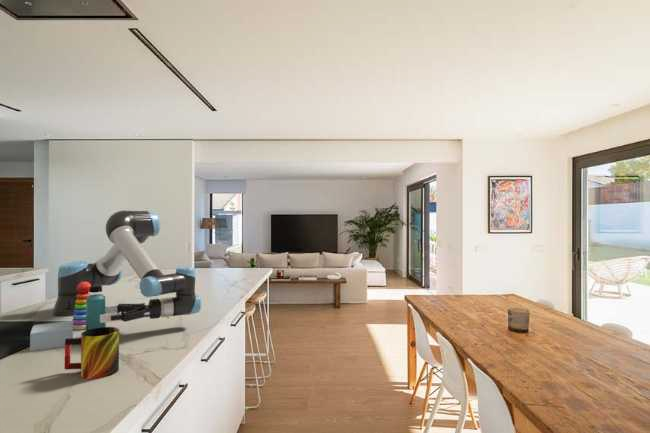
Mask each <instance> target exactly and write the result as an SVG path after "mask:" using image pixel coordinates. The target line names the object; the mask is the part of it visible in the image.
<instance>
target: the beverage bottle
mask: <svg viewBox="0 0 650 433" xmlns="http://www.w3.org/2000/svg"><path fill="white" fill-rule="evenodd" d="M101 292H103V286H91V287H90V290H89V293H90V294H91V293H94V294H91V295H90V296H88V297H87V298H86V329H85V331H86V330H90V329H94V328H100V327H106V324H107V322H104V323H100V315H103V314H105V307H106V296H105V295H104V294H100V293H101ZM97 293H98V294H97Z"/></svg>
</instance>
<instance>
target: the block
mask: <svg viewBox="0 0 650 433" xmlns="http://www.w3.org/2000/svg"><path fill="white" fill-rule="evenodd" d="M73 333H74V329H73V321H72V320H67V321H59V322H50V323H42V324H33V326H32V328H31V331H30V336H29V339H30V340H29V352H36V351H43V350H50V349H57V348H65V339H67V338H74V337H73V336H74V334H73ZM72 346H73V345H70V347H72Z"/></svg>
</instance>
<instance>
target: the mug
mask: <svg viewBox="0 0 650 433" xmlns="http://www.w3.org/2000/svg"><path fill="white" fill-rule="evenodd" d="M70 345H72V346H73V345H79V346H80V345H81V347H80V349H81V350H80V351H81V352H80V362H71V346H70ZM64 370H80V377H81V378H83V379H85V378H87V379H86V380H98V379H103V378H107V377H110V376H114V375H115V374H117V373H118V372H119V370H120V329H119V328H118V327H117V326H114V327H113V326H105V327H100V328H94V329H90V330H86V329H85V330H84V331H83V332H81V336H80V337H78V338H77V337H73V338H67V339H65V347H64Z"/></svg>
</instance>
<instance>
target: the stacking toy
mask: <svg viewBox="0 0 650 433" xmlns="http://www.w3.org/2000/svg"><path fill="white" fill-rule="evenodd" d="M90 287H91V284H90V283H88V282H81V283H79V284H78V286H77V291H78V292H79V293H80V294H78V295H77V296H76V297H77V300H76V305H75V308H76V309H75V310H74V315H72V319H71V321H73V331H74V330H75V331H80V330H81V331H82V330H86V298H87V297H88V296H90V295H92V294H91V292H89V290H90Z"/></svg>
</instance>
